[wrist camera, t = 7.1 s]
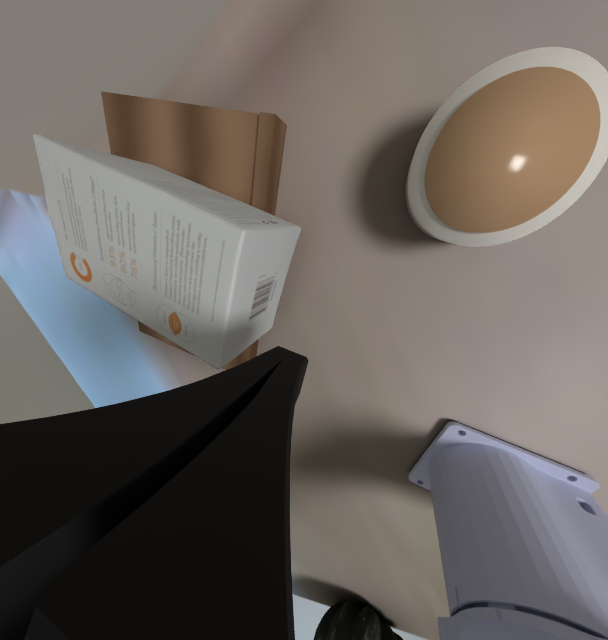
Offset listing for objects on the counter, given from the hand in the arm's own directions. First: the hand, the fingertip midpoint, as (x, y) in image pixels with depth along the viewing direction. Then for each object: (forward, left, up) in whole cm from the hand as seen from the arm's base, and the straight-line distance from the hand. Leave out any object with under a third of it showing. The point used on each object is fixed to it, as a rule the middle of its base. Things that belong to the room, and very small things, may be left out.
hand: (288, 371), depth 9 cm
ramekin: (-5, -9, -9) cm, 14 cm away
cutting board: (+13, 0, -9) cm, 16 cm away
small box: (+3, -1, -4) cm, 6 cm away
